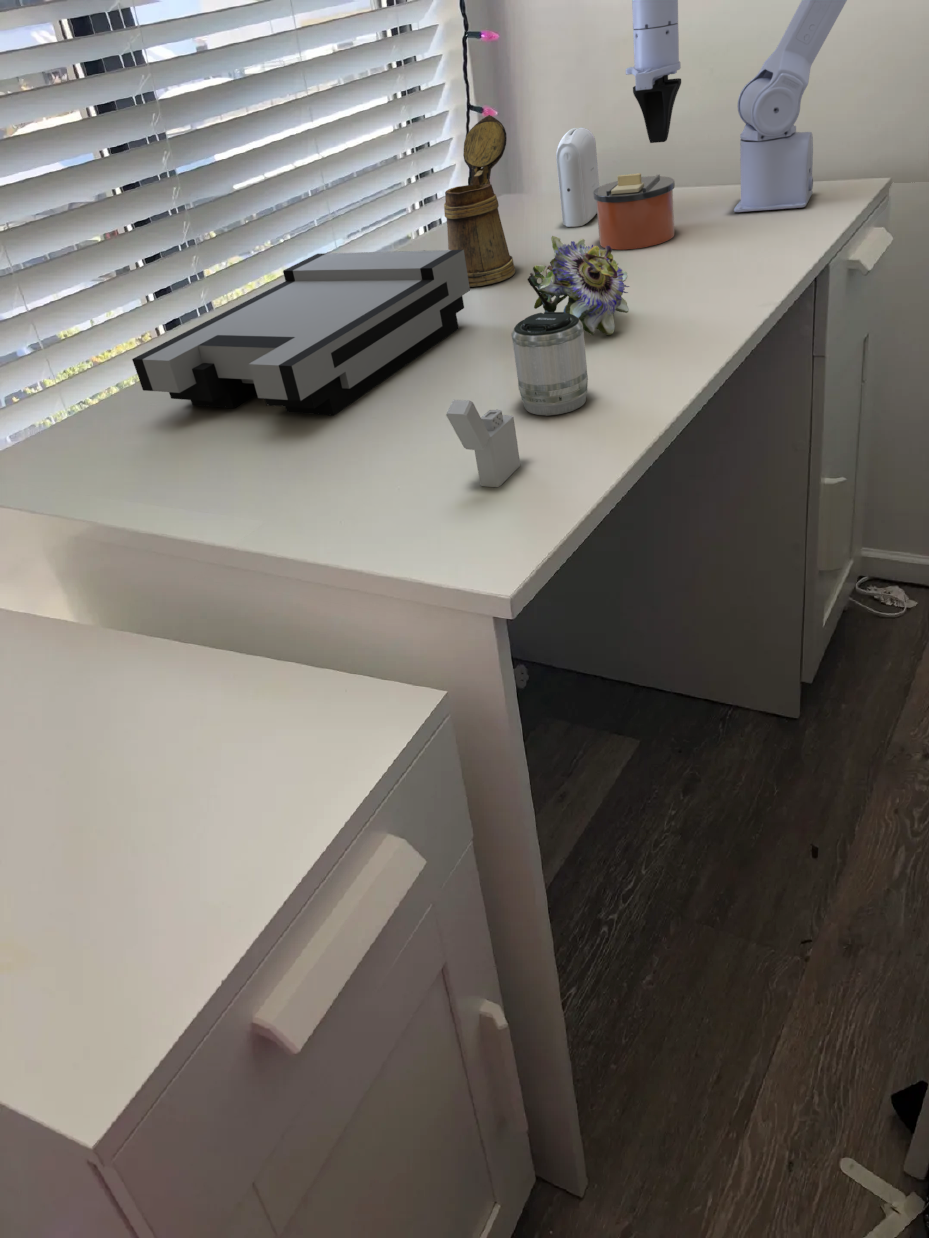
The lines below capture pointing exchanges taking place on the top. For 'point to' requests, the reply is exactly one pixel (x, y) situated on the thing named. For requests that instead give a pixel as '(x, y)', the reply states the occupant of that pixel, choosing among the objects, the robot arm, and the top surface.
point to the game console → (316, 333)
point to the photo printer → (577, 176)
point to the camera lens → (551, 362)
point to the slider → (628, 184)
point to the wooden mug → (480, 208)
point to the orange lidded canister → (636, 214)
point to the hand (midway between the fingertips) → (658, 141)
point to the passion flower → (582, 284)
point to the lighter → (487, 440)
